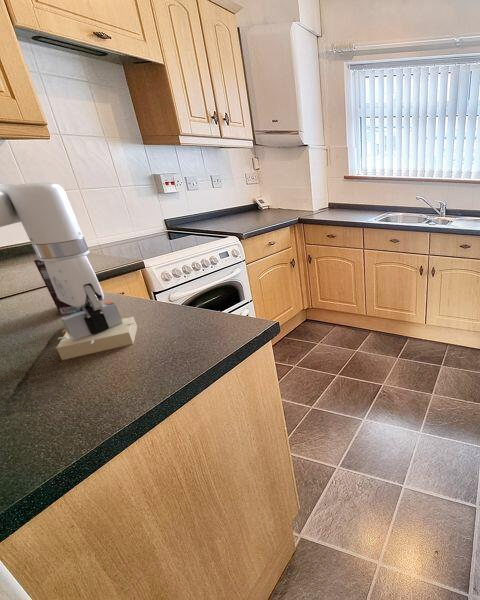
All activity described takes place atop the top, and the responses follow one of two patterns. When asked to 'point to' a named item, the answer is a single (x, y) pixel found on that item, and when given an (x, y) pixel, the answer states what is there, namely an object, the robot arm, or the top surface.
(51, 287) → the supplement box
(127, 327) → the low beige pedestal
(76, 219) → the robot arm
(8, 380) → the top surface
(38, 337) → the top surface
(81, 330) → the pale blue rectangular brick
